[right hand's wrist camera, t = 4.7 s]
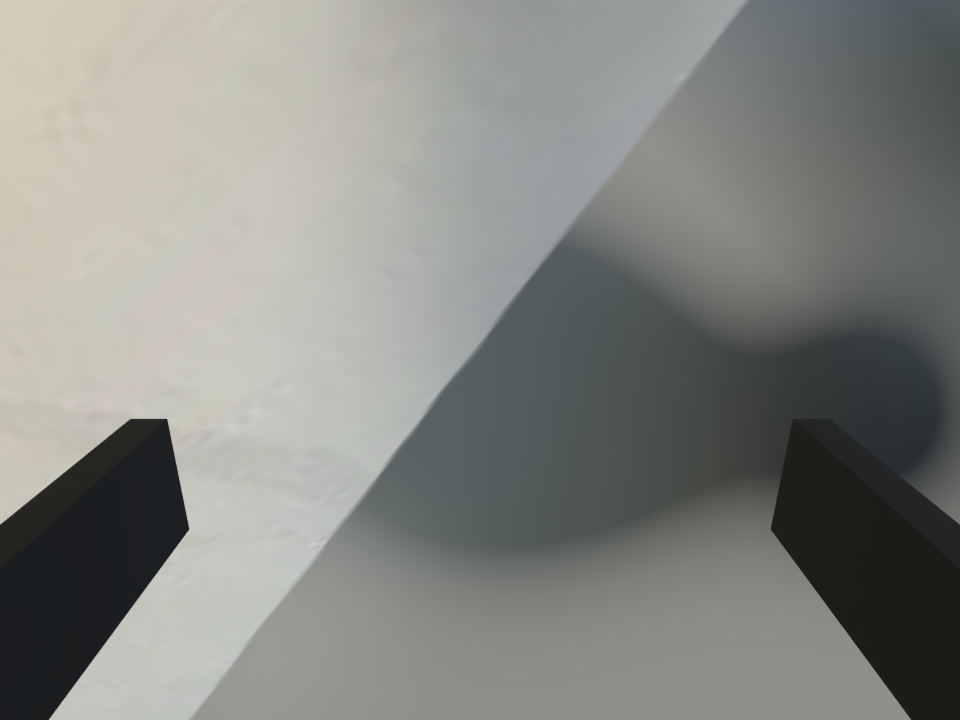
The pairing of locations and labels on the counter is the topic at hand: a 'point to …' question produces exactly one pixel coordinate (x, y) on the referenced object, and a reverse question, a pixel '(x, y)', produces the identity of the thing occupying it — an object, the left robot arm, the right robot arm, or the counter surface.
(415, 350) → the counter surface
